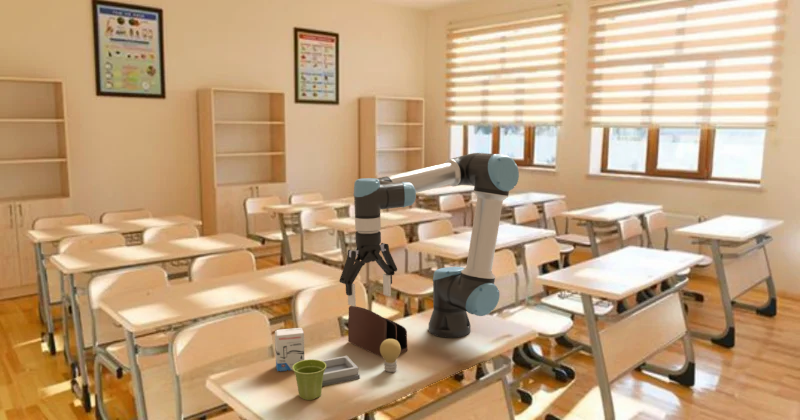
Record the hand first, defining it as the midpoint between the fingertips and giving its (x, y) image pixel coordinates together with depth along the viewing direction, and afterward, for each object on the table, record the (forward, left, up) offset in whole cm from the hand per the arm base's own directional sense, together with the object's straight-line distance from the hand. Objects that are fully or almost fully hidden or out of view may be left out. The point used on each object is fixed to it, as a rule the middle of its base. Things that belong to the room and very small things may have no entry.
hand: (369, 300), depth 181 cm
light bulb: (-5, +3, -23) cm, 23 cm away
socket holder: (+12, -2, -22) cm, 25 cm away
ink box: (+22, -13, -23) cm, 34 cm away
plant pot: (+22, +8, -23) cm, 32 cm away
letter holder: (-9, -17, -23) cm, 30 cm away
